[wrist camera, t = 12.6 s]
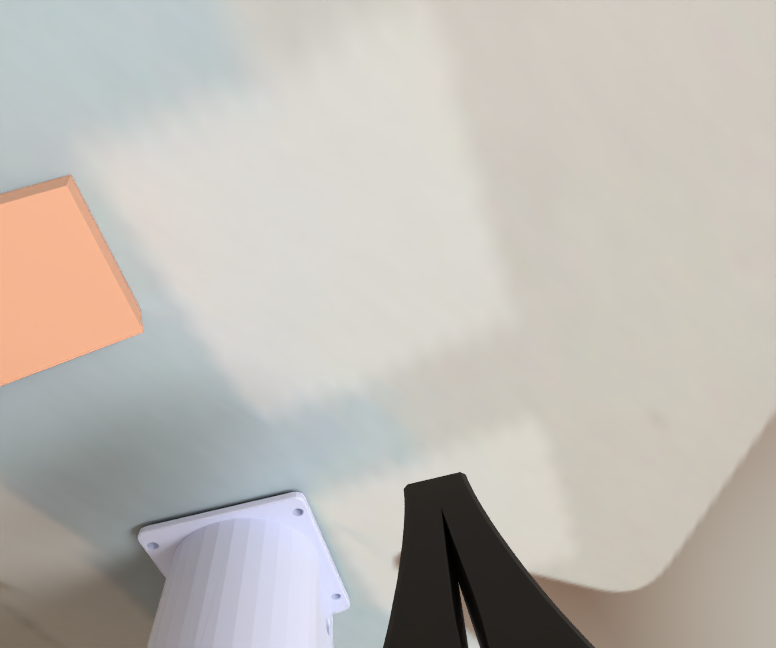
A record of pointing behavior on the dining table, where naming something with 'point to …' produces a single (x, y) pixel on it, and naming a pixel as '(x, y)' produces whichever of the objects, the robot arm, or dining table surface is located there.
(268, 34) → the dining table surface
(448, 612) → the robot arm
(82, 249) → the terracotta domino
